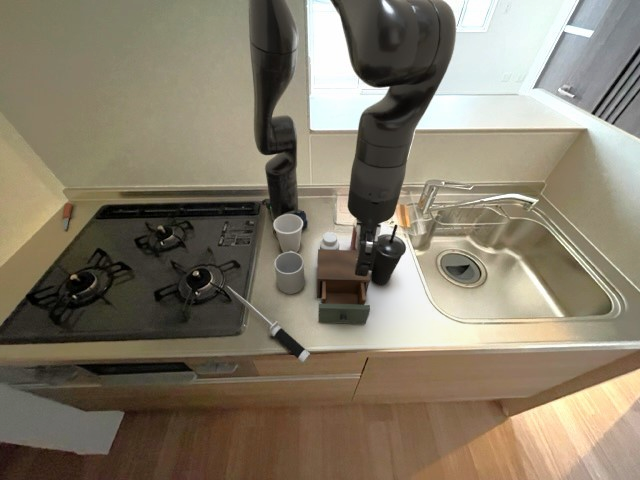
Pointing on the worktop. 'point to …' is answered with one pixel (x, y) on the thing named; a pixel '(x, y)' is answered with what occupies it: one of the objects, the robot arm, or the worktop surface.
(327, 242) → the supplement bottle
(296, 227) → the dixie cup
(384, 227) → the white cube
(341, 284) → the drawer
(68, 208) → the kitchen knife
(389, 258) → the drinking cup
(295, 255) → the cup
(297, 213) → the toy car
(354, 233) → the tin
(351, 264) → the cabinet
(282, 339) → the knife
